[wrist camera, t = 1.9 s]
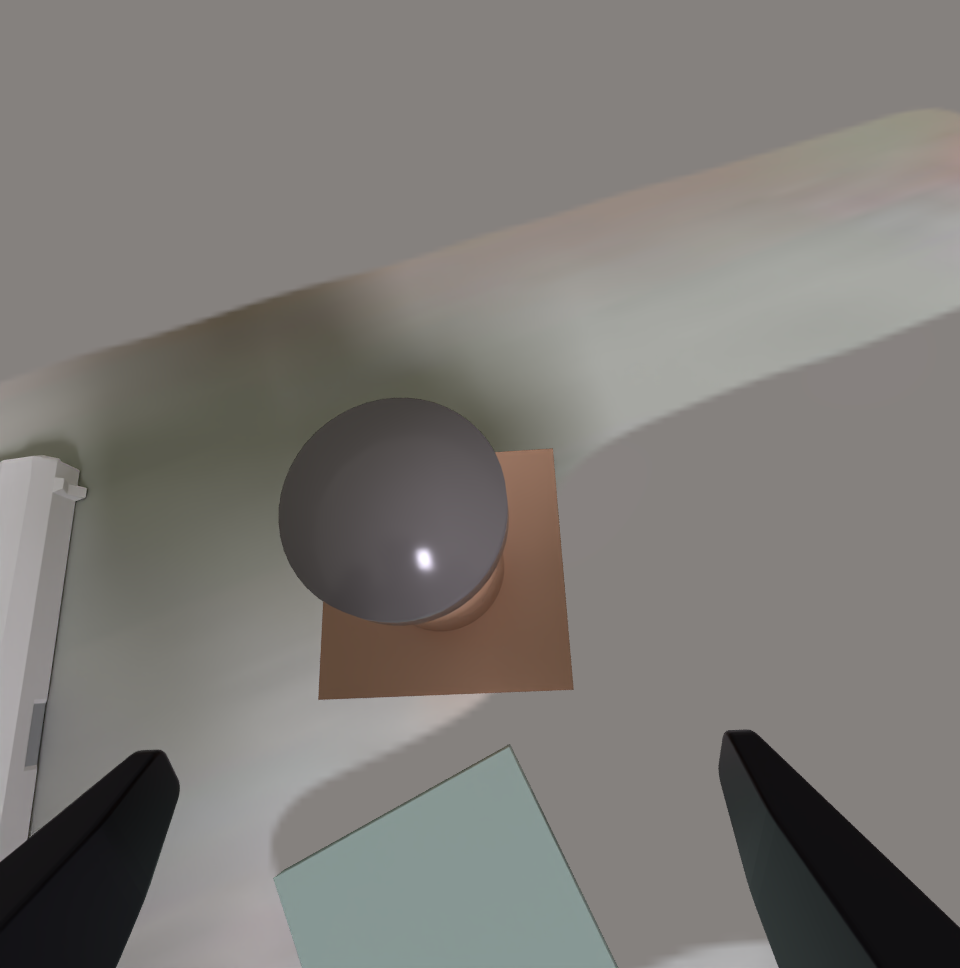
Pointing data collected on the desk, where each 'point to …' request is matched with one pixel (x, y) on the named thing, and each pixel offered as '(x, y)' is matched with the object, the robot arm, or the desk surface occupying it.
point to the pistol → (29, 620)
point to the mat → (446, 885)
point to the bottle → (427, 555)
